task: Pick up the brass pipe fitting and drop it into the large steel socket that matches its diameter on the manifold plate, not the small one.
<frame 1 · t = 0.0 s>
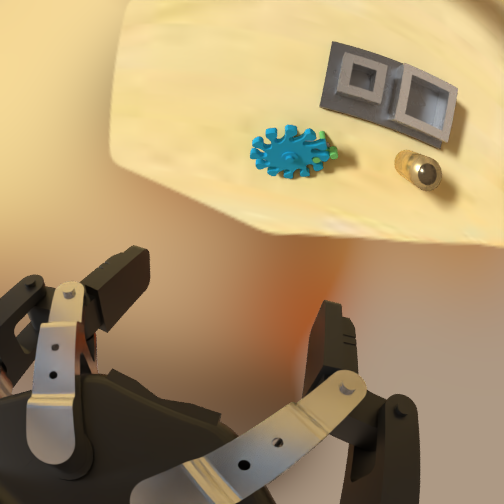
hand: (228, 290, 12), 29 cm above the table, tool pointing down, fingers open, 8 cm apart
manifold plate: (389, 93, 29), on the table
gear: (296, 150, 36), on the table
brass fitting: (407, 163, 32), on the table
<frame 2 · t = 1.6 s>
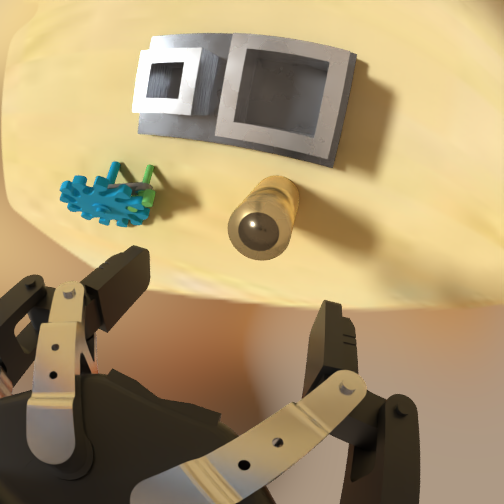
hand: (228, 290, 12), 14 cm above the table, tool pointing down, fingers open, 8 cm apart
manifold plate: (238, 89, 20), on the table
gear: (129, 192, 27), on the table
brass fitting: (276, 197, 24), on the table
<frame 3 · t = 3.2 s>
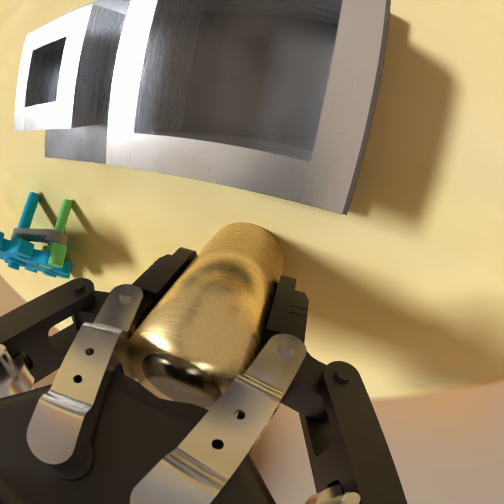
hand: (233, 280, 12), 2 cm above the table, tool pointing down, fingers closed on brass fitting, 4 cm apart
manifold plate: (175, 70, 10), on the table
gear: (53, 232, 18), on the table
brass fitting: (245, 259, 14), on the table, touching gripper
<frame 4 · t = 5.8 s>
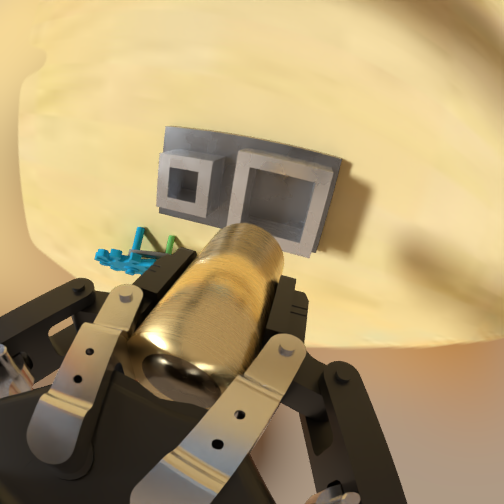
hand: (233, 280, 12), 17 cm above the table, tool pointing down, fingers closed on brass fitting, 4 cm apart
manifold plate: (242, 183, 28), on the table
gear: (152, 251, 35), on the table
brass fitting: (245, 259, 14), point 15 cm above the table, touching gripper
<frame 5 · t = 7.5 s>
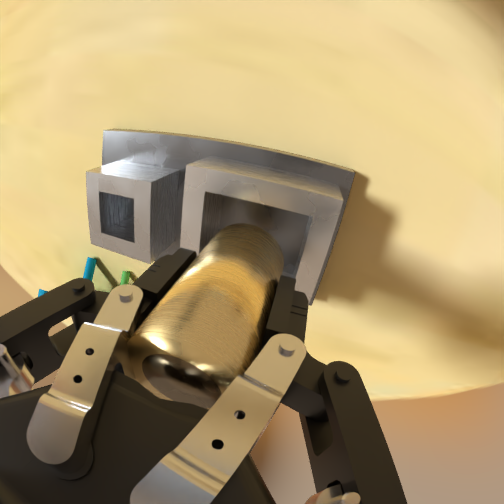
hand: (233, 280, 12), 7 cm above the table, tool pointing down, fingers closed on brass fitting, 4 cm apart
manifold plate: (207, 207, 19), on the table
gear: (108, 285, 26), on the table
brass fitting: (245, 259, 14), point 5 cm above the table, touching gripper
when the fingers open (6 cm above the table, at t = 8.7 s): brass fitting drops 2 cm, resting on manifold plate.
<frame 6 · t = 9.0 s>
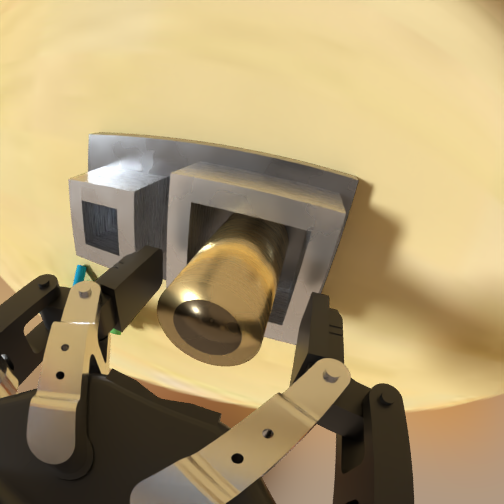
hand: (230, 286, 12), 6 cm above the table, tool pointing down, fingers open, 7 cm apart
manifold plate: (198, 216, 18), on the table
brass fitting: (254, 239, 16), point 1 cm above the table, touching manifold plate
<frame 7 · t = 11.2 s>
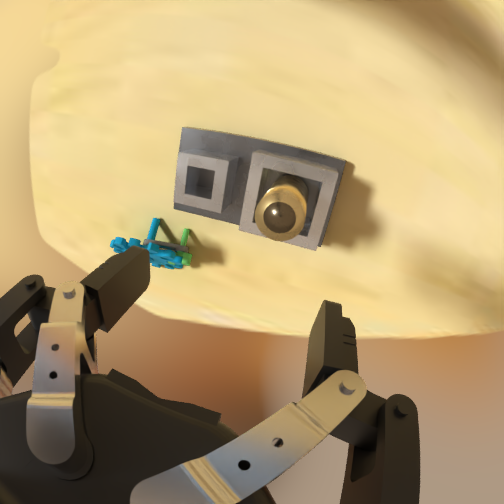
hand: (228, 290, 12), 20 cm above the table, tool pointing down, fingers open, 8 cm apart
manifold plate: (254, 182, 30), on the table
gear: (165, 241, 37), on the table
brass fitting: (289, 193, 28), point 1 cm above the table, touching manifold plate
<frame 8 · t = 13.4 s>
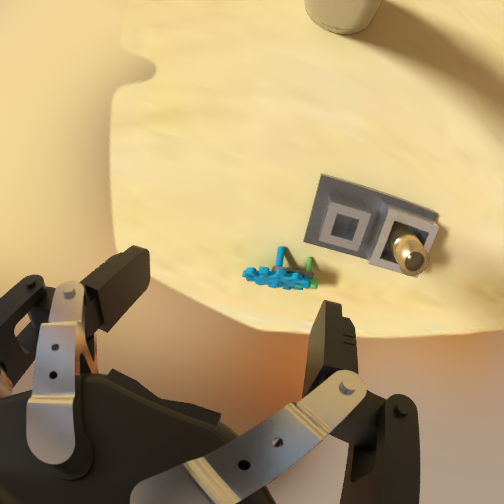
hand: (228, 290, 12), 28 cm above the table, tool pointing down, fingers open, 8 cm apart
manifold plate: (371, 224, 36), on the table
gear: (283, 266, 43), on the table
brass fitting: (398, 235, 35), point 1 cm above the table, touching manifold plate
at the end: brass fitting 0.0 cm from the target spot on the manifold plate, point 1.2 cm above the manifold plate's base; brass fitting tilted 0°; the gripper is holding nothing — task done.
